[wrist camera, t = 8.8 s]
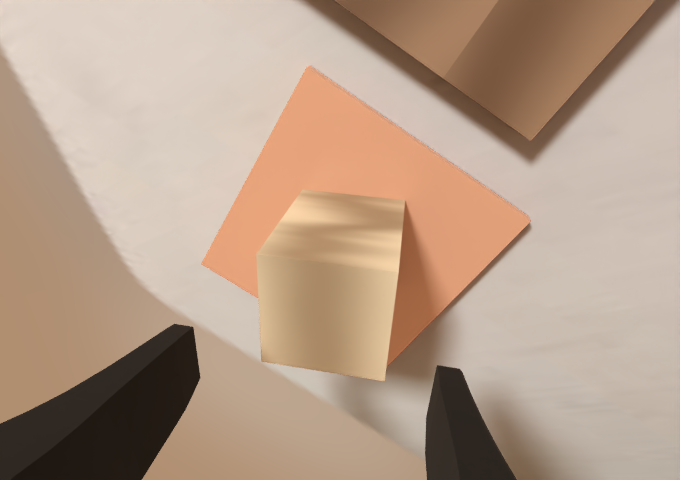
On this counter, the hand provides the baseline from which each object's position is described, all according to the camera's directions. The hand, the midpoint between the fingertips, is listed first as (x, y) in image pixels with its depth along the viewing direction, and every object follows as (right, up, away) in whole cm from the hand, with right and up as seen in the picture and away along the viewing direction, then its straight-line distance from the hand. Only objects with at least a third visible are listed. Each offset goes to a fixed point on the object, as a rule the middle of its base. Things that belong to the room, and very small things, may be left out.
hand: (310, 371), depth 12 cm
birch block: (+1, +4, +7) cm, 8 cm away
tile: (+1, +4, +8) cm, 9 cm away
